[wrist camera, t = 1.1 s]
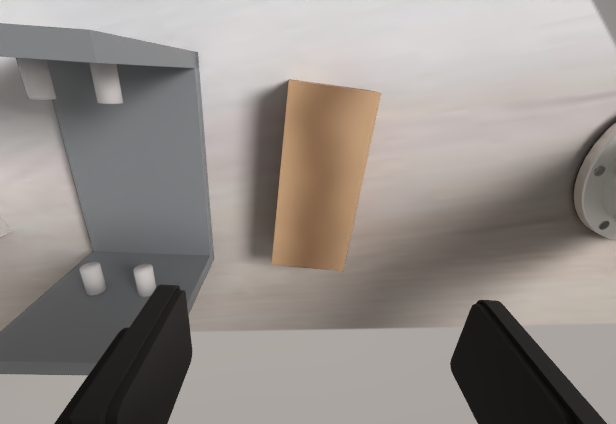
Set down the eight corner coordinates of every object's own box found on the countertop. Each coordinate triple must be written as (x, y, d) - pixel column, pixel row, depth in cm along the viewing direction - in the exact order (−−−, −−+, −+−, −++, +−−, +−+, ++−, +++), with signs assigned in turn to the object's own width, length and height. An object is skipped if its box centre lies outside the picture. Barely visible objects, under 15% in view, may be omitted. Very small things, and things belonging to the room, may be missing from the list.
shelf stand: (197, 52, 21) (90, 29, 10) (213, 258, 28) (160, 376, 17) (47, 41, 21) (-235, 6, 10) (102, 254, 28) (-26, 373, 17)
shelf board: (369, 90, 23) (381, 92, 20) (338, 249, 29) (343, 271, 25) (290, 79, 22) (288, 80, 19) (274, 242, 28) (271, 264, 25)
